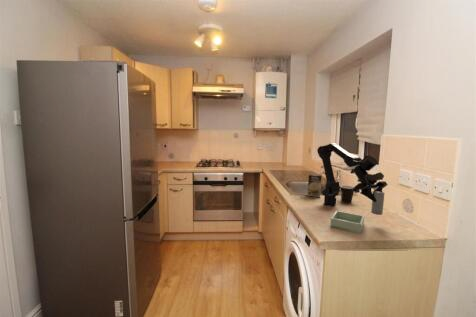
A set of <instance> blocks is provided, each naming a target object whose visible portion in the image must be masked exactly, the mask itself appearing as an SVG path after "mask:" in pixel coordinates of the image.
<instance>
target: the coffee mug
mask: <svg viewBox="0 0 476 317" xmlns="http://www.w3.org/2000/svg"><path fill="white" fill-rule="evenodd" d="M354 187H355V186H351V185H340V201H341V202H342V203H346V204H347V203H349V204H350V203H352V202H353V197H354V193H355V192H354V191H353V188H354Z"/></svg>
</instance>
